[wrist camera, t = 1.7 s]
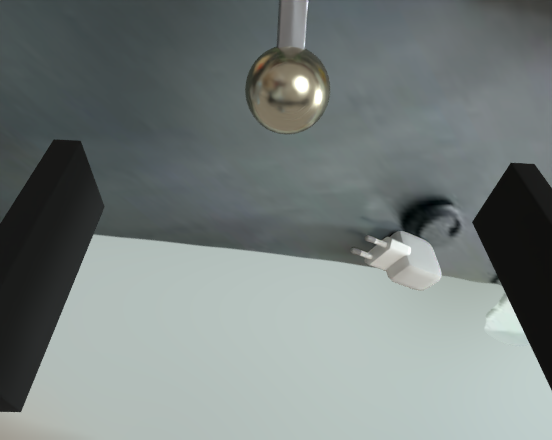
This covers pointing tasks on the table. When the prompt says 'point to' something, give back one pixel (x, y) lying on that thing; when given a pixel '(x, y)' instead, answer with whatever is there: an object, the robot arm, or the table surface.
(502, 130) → the table surface
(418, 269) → the power adapter
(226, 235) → the table surface
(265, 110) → the lever switch
